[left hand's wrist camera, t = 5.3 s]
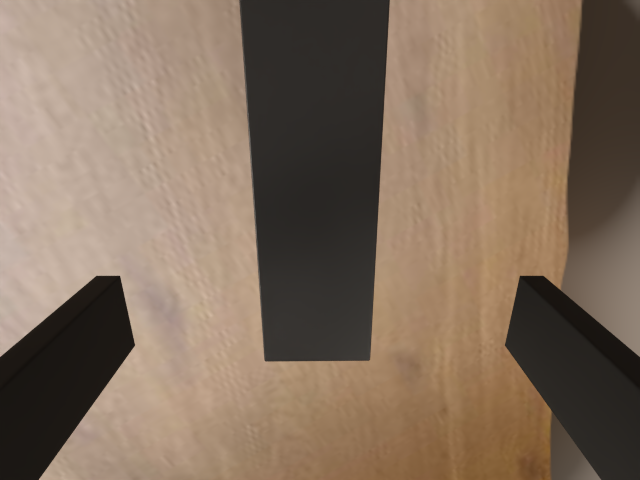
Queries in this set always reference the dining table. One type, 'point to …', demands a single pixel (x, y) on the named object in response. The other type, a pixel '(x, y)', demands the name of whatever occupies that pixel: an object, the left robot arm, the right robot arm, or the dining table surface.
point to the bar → (315, 169)
